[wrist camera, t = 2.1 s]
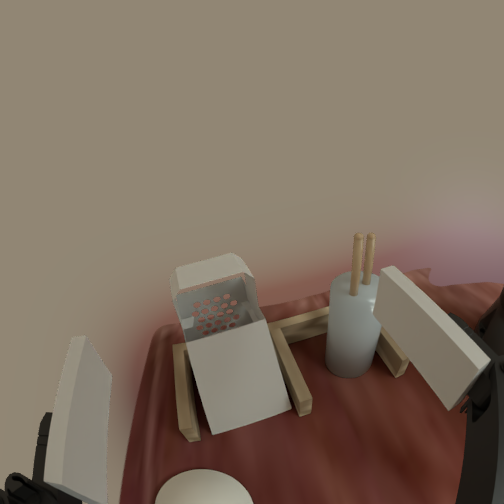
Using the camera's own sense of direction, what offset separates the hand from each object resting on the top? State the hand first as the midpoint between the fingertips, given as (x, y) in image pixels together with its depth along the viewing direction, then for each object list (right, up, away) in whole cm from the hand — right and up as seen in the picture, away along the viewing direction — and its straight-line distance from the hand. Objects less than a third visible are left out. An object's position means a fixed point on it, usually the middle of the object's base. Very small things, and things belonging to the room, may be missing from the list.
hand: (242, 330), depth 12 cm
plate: (-5, -25, +9) cm, 27 cm away
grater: (-1, -16, +24) cm, 28 cm away
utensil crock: (+14, -12, +26) cm, 32 cm away
